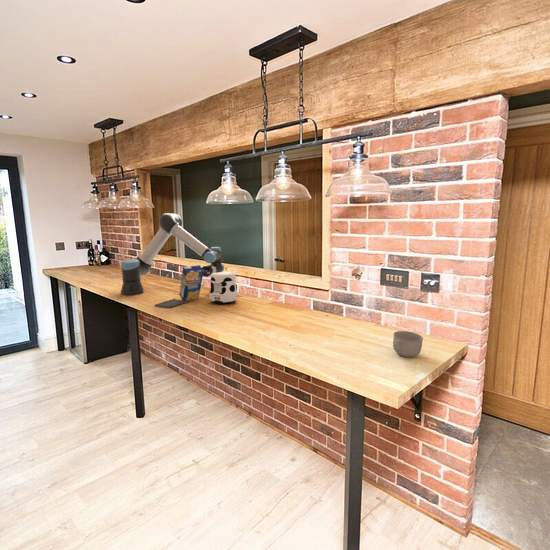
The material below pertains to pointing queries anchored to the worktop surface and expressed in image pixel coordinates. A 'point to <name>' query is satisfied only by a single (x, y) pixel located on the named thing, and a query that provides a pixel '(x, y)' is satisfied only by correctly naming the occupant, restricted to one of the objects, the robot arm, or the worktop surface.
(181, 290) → the beverage box
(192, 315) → the worktop surface
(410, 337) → the teacup
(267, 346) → the worktop surface
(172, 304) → the bar mat
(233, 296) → the milk container
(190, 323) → the worktop surface
